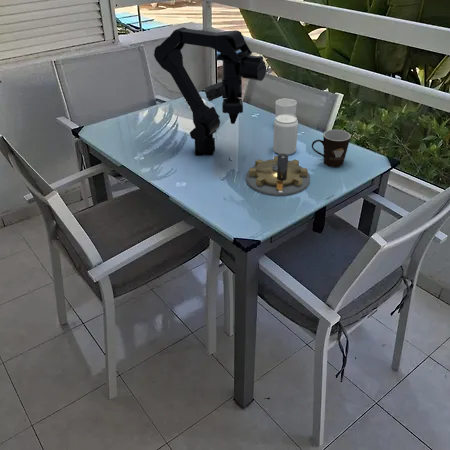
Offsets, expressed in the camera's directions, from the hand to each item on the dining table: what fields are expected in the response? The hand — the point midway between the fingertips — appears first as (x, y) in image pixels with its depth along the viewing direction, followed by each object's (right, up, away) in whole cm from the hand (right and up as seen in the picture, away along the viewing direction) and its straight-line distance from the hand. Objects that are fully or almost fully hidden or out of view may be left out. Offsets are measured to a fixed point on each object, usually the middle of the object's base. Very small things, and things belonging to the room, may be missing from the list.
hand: (232, 123), depth 155 cm
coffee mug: (+32, -12, +5) cm, 35 cm away
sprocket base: (+14, -19, -4) cm, 24 cm away
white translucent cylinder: (+20, +4, +29) cm, 35 cm away
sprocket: (+14, -17, -5) cm, 23 cm away
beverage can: (+18, -7, +12) cm, 23 cm away
